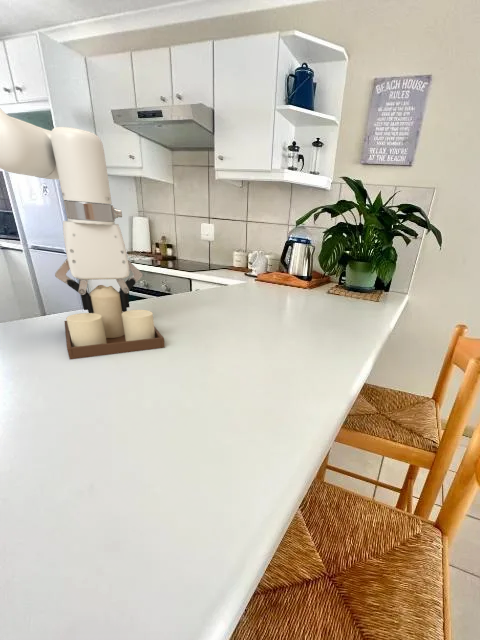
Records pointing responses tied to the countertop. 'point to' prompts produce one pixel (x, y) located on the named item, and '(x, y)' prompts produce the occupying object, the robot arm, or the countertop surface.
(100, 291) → the candle
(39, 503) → the countertop surface
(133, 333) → the cream candle right
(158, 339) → the tray
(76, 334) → the cream candle left
